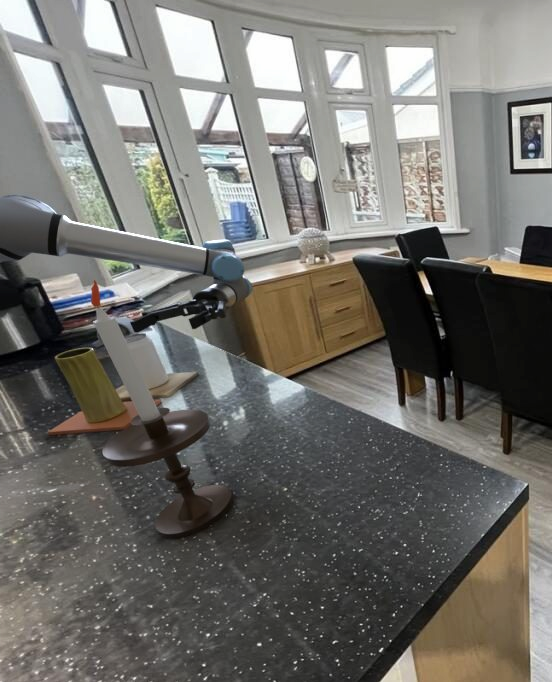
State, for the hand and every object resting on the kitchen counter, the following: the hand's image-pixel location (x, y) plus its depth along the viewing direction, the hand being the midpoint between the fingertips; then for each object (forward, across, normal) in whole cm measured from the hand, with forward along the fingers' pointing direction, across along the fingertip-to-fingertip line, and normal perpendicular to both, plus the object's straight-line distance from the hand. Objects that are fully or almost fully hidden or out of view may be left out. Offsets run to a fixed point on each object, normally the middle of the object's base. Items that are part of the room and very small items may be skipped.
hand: (162, 325), depth 97 cm
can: (+10, 0, -11) cm, 15 cm away
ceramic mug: (-21, +31, -12) cm, 39 cm away
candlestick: (+51, -35, -12) cm, 63 cm away
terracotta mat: (+22, 0, -12) cm, 25 cm away
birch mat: (+10, 0, -12) cm, 15 cm away
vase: (+22, 0, -11) cm, 25 cm away
